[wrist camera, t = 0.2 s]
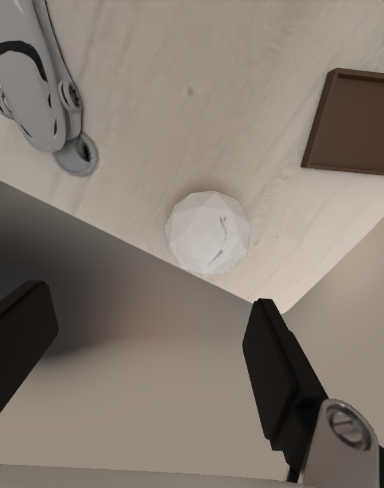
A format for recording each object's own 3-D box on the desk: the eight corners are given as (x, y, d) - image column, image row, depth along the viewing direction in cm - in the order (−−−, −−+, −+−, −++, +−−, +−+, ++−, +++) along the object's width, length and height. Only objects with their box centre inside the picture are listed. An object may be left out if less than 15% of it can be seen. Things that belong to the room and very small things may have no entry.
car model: (36, -72, 25) (1, -122, 20) (94, 148, 35) (79, 148, 30) (-50, -59, 25) (-103, -104, 21) (31, 155, 35) (7, 155, 31)
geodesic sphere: (171, 156, 30) (153, 242, 23) (266, 170, 31) (277, 258, 24) (170, 216, 43) (158, 282, 36) (236, 225, 44) (238, 292, 37)
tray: (327, 72, 31) (336, 67, 29) (445, 86, 31) (460, 82, 29) (300, 166, 36) (306, 167, 34) (400, 176, 37) (411, 178, 35)
